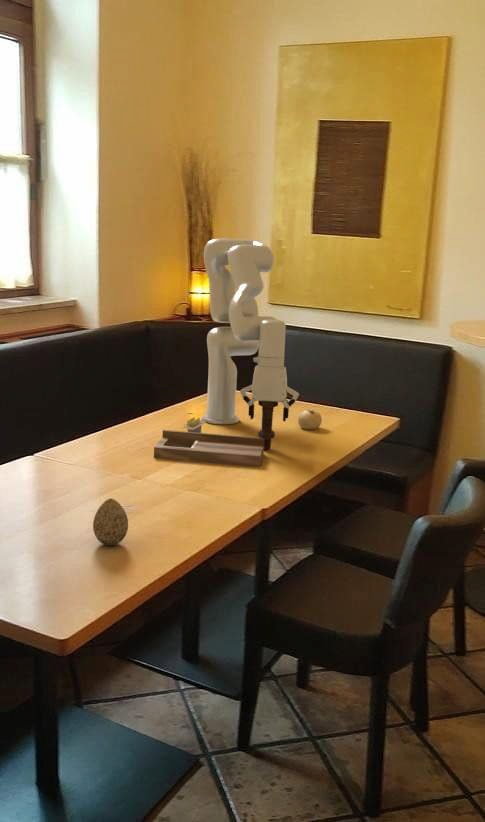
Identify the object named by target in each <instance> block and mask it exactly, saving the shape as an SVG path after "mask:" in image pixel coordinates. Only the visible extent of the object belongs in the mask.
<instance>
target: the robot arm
mask: <svg viewBox="0 0 485 822" xmlns="http://www.w3.org/2000/svg"><path fill="white" fill-rule="evenodd" d="M272 251H273V250H272V249H271V247H269V246H268V245H267V244H264V243H262V242H260V241H257V240H254V239H245V238H226V237H223V238H213V239H211V240H209V241H207V243H206V244H205V246H204V251H203V263H204V268H205V271H206V274H207V277H208V278H207V279H208V283H209V287H208V288H209V310H210V316H211V319H212V320H213V321H214V322H216V323H224V324H225V323H226V324H227V323H228V324H230V326H218V327H214V328H212V329H211V330H209V331H208V333H207V335H206V336H207V337H206V344H207V346H206V348H207V353H208V372H207V373H208V375H207V376H208V379H207V396H206V397H207V399H206V400H207V403H206V413H204V414H202V416H201V419H202V421H205V423H208V424H212V425H213V424H214V425H234V424H237V423H238V422H239V421H240V416H239V415H236V400H237V399H236V396H237V378H238V369H237V366H236V364H235V362H234V361H233V360H232V357H234V356H236V357H237V356H251V355H254V354H256V353H258V355H257V356H255V357H253V358H252V360H253V361H252V362H254V363H256V364H257V365H255V367H254V370H253V371H254V372H253V375H252V377H253V378H252V384H250V385H248V386H246V387H243V388H242V389H240V390H239V392H240V395H241V397H242V399H243V400H244V402H245V403H246V404H247V406H248V417H250V418H249V419H250V420H253V419H254V417H255V402H257V401H268V402H278V403H282V405H283V411H282V412H283V413H282V421H283V422H286V421H287V419H289V411H290V410H289V408H290V407H292V405H294V404H295V403H296V401H297V399H298V398H299V395H300V393H299V392H297V391H296V390H295V389H292V388H290V387H289V386H288V377H287V376H288V375H287V368H286V366H284V365H285V346H286V328H287V327H286V326H287V325H286V322H285V321H283V320H281V319H277V318H276V317H275V316H274V317H273V316H266V315H264V316H259V305H258V302H257V300H256V298H257V296H259V295H260V294H261V293H262V292H263V290H264V283H263V280H262V275H261V273H268V272H270V271H271V270H272V269H273V268H274V267H273V266H274V263H275V262H274V261H275V260H274V254H273V252H272ZM227 266H229V268H228V267H227ZM229 269H230V270H229ZM250 391H251V398H250V397H249V396H248V395H247V393H248V392H250ZM288 394H290V395H292V398H291V399H290V400H288V399H287V397H288Z"/></svg>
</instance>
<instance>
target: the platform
mask: <svg viewBox="0 0 485 822" xmlns="http://www.w3.org/2000/svg"><path fill="white" fill-rule="evenodd" d="M195 418H196V417H195V416H194V417H191V418H190V419H187V420H186V421H187V422H186V423H185V424H184V425H183V428H184V429H187V432H196V433H202V426H203V425H205V424H206V422H205V421H203V420H201V419H200V417H198V418H196V419H195Z"/></svg>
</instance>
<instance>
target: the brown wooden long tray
mask: <svg viewBox="0 0 485 822" xmlns="http://www.w3.org/2000/svg"><path fill="white" fill-rule="evenodd" d="M264 450H265V448H264V438H259V437H256V436H253V437H252V436H244V435H243V436H241V435H233V434H232V435H231V434H219V433H208V432H206V433H205V432H201V433H196V432H188V431H182V430H181V431H180V430H173V429H172V430H170V429H163V430H162V437H161V438H160V439H159V441H158V442H157V443H156V444H155V446H154V447H153V458H155V459H166V460H177V461H178V460H179V461H189V462H199V461H200V462H202V463H203V462H204V463H211V462H212V464H224V465H235V466H248V467H257V468H258V467H259V468H260V467H261V463H262V460H263V458H264V454H265V453H264V452H265V451H264ZM200 462H199V463H200Z"/></svg>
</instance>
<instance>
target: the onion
mask: <svg viewBox="0 0 485 822" xmlns="http://www.w3.org/2000/svg"><path fill="white" fill-rule="evenodd" d="M322 421H323V420H322V416H321V414H320V412H318V411H317V410H315V409H309V408H307V409H305V410H303V411H301V412H300V413H299V415H298V417H297V422H298V423H297V424H298V425H299V427H300V428H302V429H304V430H317V429H319V427H320V426H321V425H322Z"/></svg>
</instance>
